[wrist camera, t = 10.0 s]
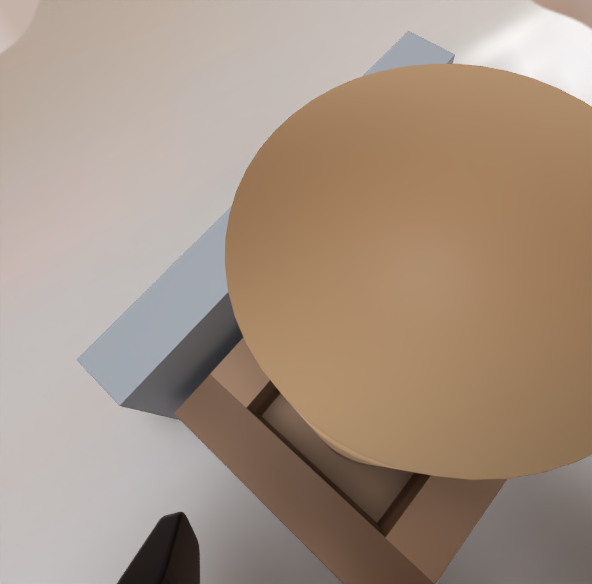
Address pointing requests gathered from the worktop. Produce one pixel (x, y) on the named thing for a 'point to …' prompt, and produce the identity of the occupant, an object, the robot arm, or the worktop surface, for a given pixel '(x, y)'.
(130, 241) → the worktop surface
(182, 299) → the backstop wall
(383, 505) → the socket block
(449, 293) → the dowel
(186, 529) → the robot arm
